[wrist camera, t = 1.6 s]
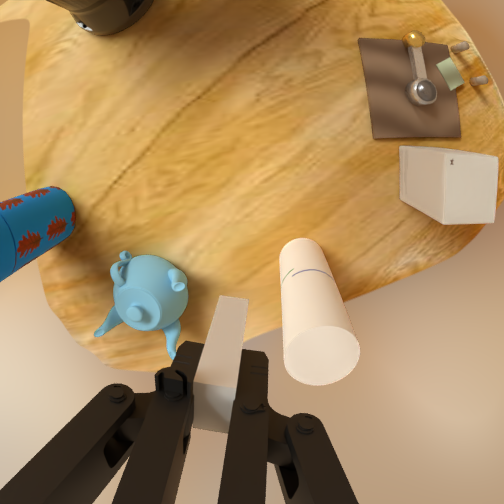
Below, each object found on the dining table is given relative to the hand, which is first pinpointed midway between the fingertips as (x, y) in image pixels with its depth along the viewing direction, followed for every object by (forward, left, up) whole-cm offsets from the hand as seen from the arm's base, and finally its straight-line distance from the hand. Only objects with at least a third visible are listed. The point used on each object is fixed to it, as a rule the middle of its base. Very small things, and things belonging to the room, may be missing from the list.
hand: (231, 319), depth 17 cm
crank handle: (-18, +27, -33) cm, 46 cm away
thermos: (-3, -37, -34) cm, 51 cm away
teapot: (+14, -19, -34) cm, 42 cm away
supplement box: (-1, +27, -34) cm, 44 cm away
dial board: (-16, +29, -34) cm, 47 cm away
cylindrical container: (+11, +6, -34) cm, 36 cm away
